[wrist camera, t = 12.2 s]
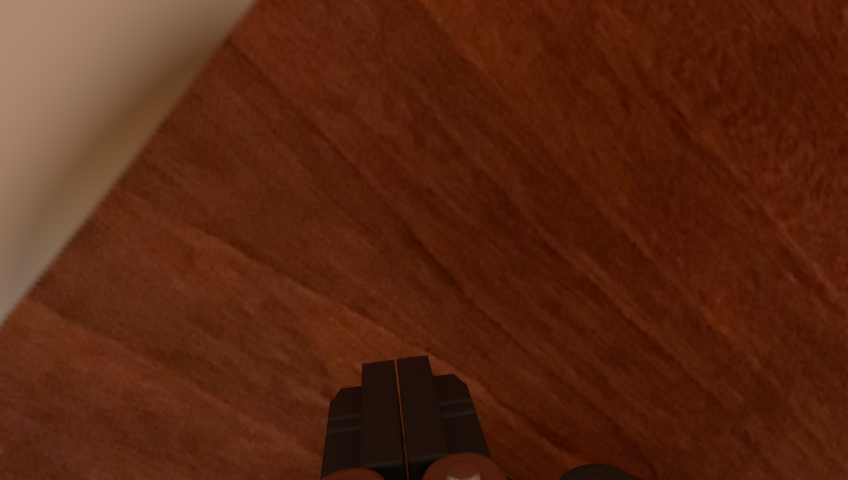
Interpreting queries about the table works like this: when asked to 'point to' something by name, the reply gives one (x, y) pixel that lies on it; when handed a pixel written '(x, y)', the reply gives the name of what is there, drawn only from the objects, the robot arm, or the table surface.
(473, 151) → the table surface
